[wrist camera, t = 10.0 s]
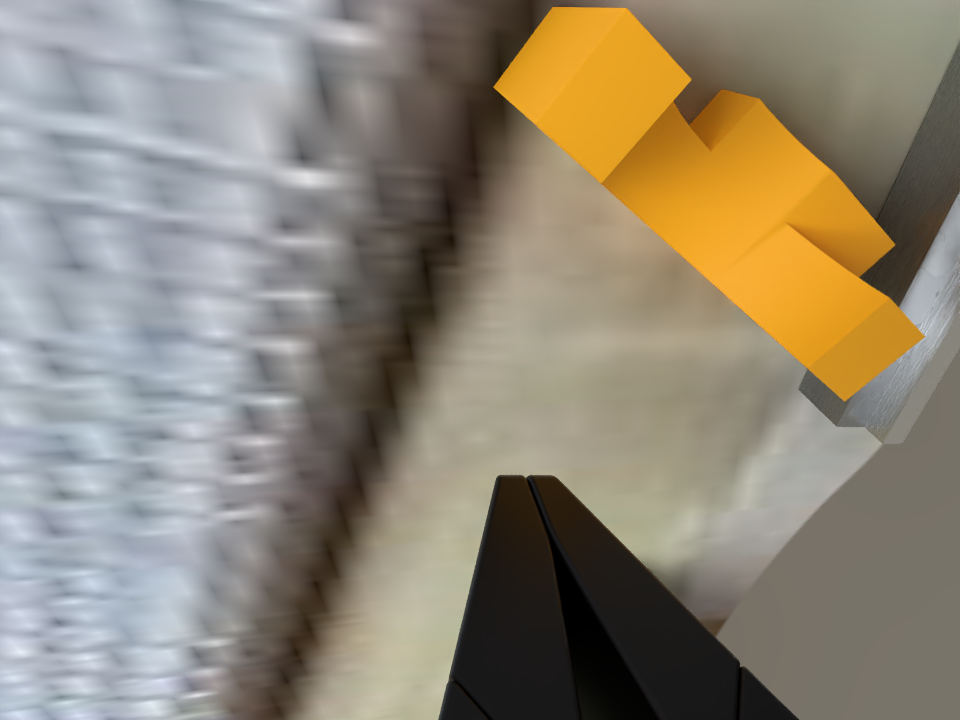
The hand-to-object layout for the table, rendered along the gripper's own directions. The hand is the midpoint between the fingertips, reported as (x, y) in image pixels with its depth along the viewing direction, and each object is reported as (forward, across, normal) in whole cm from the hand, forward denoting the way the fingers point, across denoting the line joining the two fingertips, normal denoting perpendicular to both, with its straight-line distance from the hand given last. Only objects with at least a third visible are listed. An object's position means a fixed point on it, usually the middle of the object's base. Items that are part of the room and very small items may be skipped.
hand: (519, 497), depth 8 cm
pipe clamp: (+13, -7, -3) cm, 15 cm away
